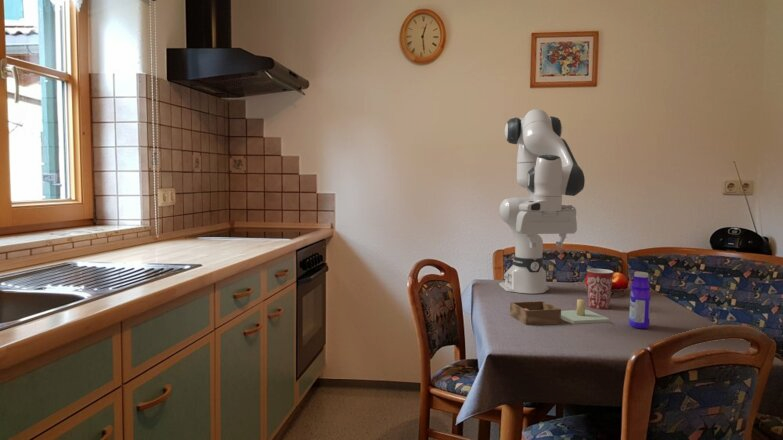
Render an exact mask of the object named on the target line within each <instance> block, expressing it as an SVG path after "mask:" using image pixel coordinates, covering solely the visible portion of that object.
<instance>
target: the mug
mask: <svg viewBox="0 0 783 440" xmlns="http://www.w3.org/2000/svg"><path fill="white" fill-rule="evenodd" d="M614 273H615V272H614V271H613V270H611V269H604V268H588V269H587V299H588V300H587V305H588V306H587V307H589V308H591V309H596V310H607V309H610V301H611V294H612V286H613V285H612V284H613V277H614V276H613V275H614Z"/></svg>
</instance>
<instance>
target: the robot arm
mask: <svg viewBox="0 0 783 440" xmlns="http://www.w3.org/2000/svg"><path fill="white" fill-rule="evenodd" d="M562 133H563V125H562V122H561V120H560V118H559V117H555V116H549V115H548V113H547V112H546V111H544V110H543V109H539V108H538V109H537V108H534V109H531V110H529V111H528V112H527V113H526V114H525V115H524V117H516V116H515V117H513V118H509V119H508V120H507V122H506V124H505V127H504V136H505V139H506V141H507V142H508V144H512V145H517V144H518V148H517V155H516V182H517V183H518V185H519V186H521V188H523V189H525V190H527V192H528V194H529V196H513V197H509V198H504V199H503V200H502V201H501V203H500V204H499V209H498V213H499V216H500V218H501V220H502V221H503V222H504V223H505V224H507V225H508V227H509V228H510V229H511V231H512V234H513V237H514V256H513V257H512V265H511V266H510V267H509V268H508V270H507V271H505V273H504V274H503V280H504V281H501V282H499V284H498V285H499V286H500V287H501V288H502V289H504V290H505V291H506V292H512V293H518V294H519V293H520V294H530V295H531V294H543V293H546V291H549V289H550V288H549V286H547V277H546V274H547V273H546V270H545V269H544V268H543V267H544V257H543V253H544V251H543V247H544V242H543V238H542V237H541V235H551V234H553V235H554V234H555V235H557V234H558V235H559V239H558V241H556V242H555V248H561V249H562V248H563V247H564V246H563V245H564V244H563V243H564V242H565V239H566V238H567V234H569V235H571V234H575V233H576V232H577V231H578V225H577V224H578V223H577V222H578V221H577V209H576V207H575V206H573V205H572V204H571V205H569V204H568V205H565V204H563V203H562V202H563V196H570V197H576V196H577V195H578V194H580V192H582V191H583V190H584V189H585V180H586V179H585V173H584V172H583V169H582V168H581V167H580V166H579V165H578V162H577V161H576V159H575V156H574V155H573V152H572V151H571V148H570V146H569V144H568V142H567V141H566V140H565V139H564V138H562V137H561V136H562Z"/></svg>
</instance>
